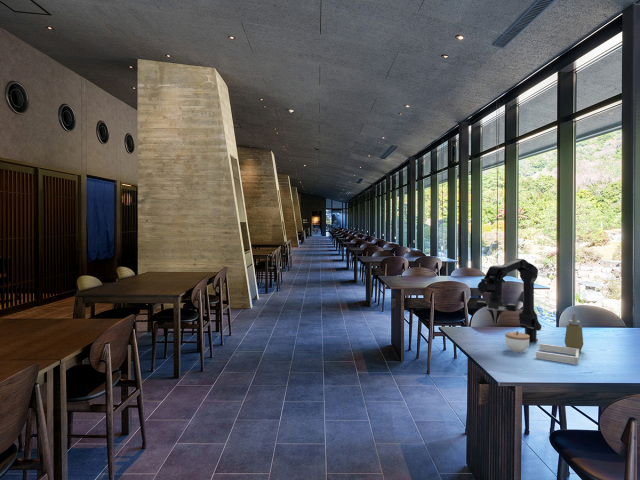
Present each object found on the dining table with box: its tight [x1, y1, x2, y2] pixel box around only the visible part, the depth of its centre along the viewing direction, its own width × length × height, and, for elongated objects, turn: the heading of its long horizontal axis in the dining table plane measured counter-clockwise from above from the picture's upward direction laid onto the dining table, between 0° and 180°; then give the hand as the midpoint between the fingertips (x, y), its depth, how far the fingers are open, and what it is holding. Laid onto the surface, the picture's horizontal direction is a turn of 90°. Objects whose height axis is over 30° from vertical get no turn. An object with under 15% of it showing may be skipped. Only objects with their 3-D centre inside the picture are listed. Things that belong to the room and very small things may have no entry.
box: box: [535, 343, 580, 366], centre depth 199 cm, size 17×16×3 cm
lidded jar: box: [504, 330, 530, 353], centre depth 209 cm, size 11×11×9 cm
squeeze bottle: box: [564, 312, 584, 352], centre depth 210 cm, size 8×8×18 cm
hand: (495, 323), depth 214 cm, fingers closed
